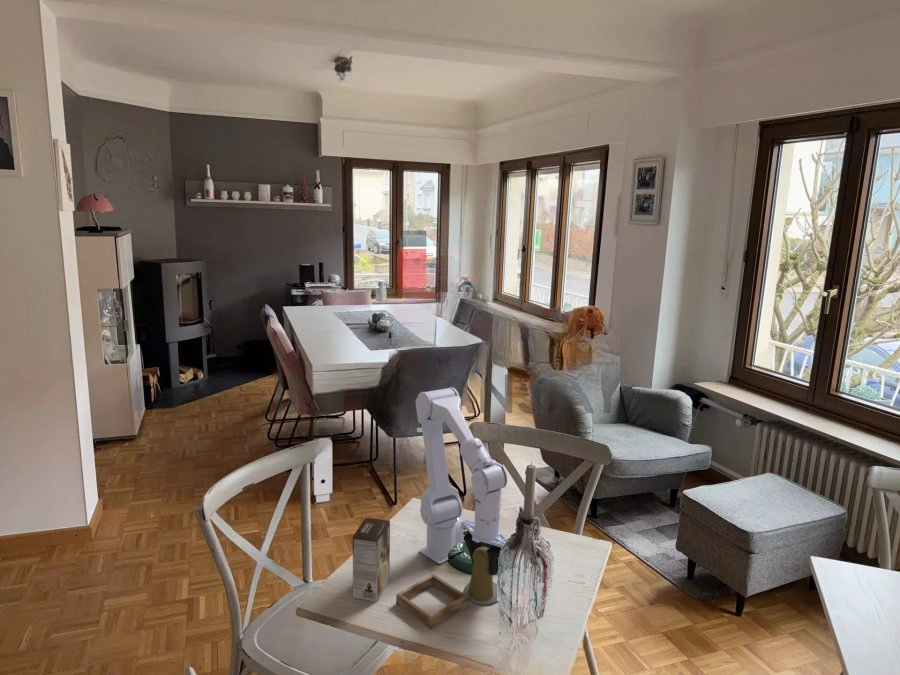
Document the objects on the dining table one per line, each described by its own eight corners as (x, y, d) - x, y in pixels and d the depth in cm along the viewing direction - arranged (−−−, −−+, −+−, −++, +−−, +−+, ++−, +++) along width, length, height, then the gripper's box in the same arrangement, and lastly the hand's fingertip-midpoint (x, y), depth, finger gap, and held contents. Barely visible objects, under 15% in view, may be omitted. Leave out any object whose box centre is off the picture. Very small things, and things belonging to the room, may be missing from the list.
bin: (433, 582, 150) (433, 573, 149) (467, 606, 142) (467, 596, 141) (396, 603, 142) (396, 594, 141) (430, 629, 134) (430, 619, 133)
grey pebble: (481, 576, 153) (481, 574, 153) (509, 593, 147) (509, 591, 146) (456, 592, 147) (456, 590, 146) (484, 610, 140) (484, 608, 140)
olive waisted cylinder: (464, 586, 148) (467, 544, 145) (488, 583, 149) (491, 542, 147) (472, 601, 142) (476, 558, 140) (497, 598, 144) (500, 555, 142)
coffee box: (365, 575, 152) (365, 516, 148) (390, 579, 151) (391, 519, 147) (352, 598, 143) (351, 536, 139) (378, 602, 142) (379, 540, 138)
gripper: (452, 509, 144) (450, 561, 147) (499, 534, 134) (496, 589, 137) (473, 499, 149) (471, 549, 152) (520, 523, 139) (516, 576, 142)
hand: (484, 567), depth 145 cm, fingers closed on olive waisted cylinder, 5 cm apart
